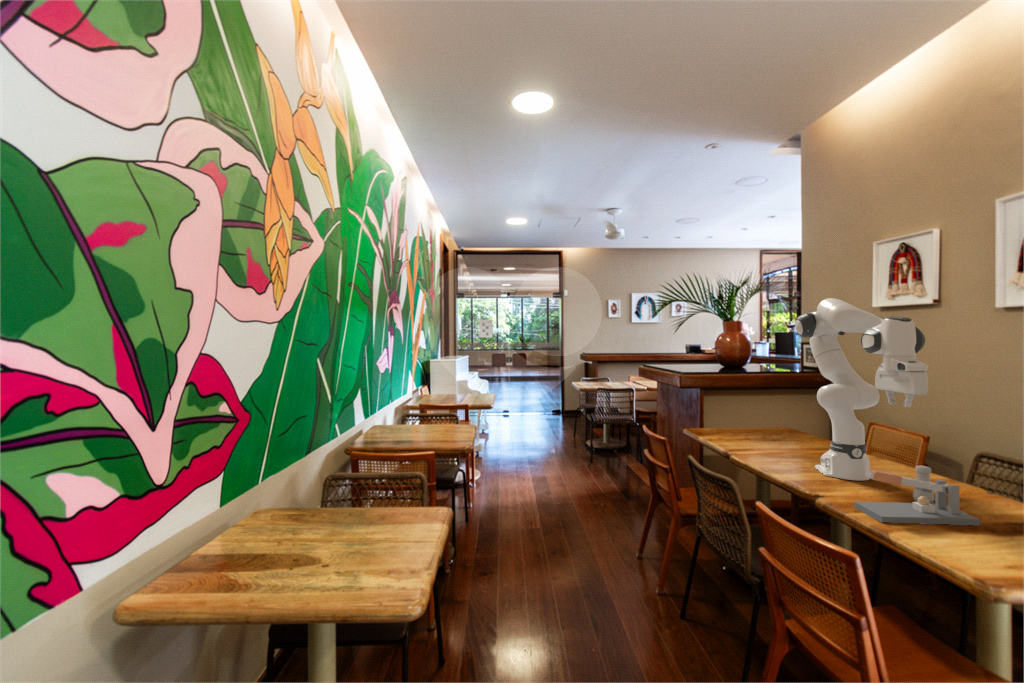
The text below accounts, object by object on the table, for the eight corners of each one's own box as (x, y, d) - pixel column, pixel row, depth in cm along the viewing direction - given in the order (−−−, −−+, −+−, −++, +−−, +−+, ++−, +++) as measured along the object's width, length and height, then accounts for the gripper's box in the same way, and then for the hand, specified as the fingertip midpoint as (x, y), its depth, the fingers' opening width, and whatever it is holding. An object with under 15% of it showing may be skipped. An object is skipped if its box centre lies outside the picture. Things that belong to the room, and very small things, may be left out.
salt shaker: (926, 500, 168) (926, 464, 168) (939, 506, 163) (938, 468, 163) (908, 500, 169) (908, 464, 169) (920, 506, 163) (920, 468, 163)
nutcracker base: (943, 509, 160) (943, 477, 160) (980, 525, 146) (979, 490, 146) (854, 507, 163) (854, 475, 163) (881, 523, 149) (881, 487, 149)
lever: (946, 494, 155) (948, 483, 155) (955, 498, 151) (957, 487, 151) (863, 478, 157) (865, 467, 157) (870, 481, 154) (872, 470, 154)
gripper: (869, 363, 171) (869, 401, 171) (910, 366, 150) (911, 409, 150) (888, 363, 170) (888, 401, 170) (932, 366, 150) (933, 409, 150)
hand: (899, 405), depth 160 cm, fingers open, 6 cm apart
